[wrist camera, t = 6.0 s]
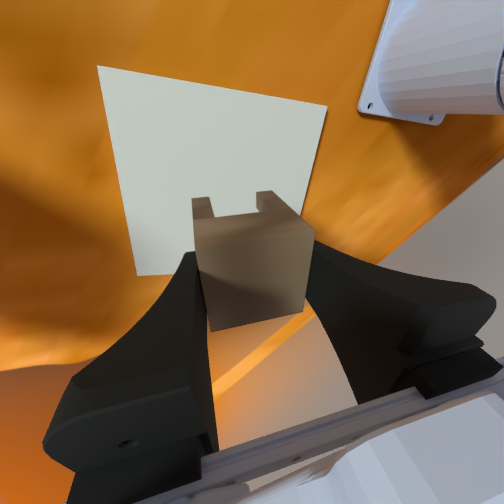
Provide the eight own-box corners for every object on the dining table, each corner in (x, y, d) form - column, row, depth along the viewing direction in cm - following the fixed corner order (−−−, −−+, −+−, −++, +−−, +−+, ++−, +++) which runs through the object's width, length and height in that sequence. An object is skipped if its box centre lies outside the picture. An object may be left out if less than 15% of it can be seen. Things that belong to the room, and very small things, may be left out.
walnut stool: (271, 190, 13) (315, 230, 9) (269, 255, 16) (302, 311, 11) (191, 198, 12) (194, 248, 8) (203, 266, 15) (210, 332, 10)
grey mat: (323, 106, 18) (327, 106, 17) (285, 264, 26) (287, 267, 26) (100, 66, 14) (96, 65, 13) (138, 272, 22) (137, 276, 21)
